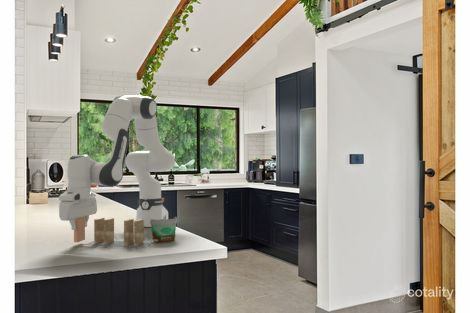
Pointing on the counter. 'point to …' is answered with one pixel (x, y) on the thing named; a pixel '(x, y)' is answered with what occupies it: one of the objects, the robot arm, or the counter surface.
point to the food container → (163, 230)
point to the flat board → (119, 244)
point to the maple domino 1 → (99, 230)
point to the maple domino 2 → (108, 231)
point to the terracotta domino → (79, 229)
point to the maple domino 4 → (139, 232)
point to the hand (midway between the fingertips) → (79, 228)
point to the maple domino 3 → (128, 232)
